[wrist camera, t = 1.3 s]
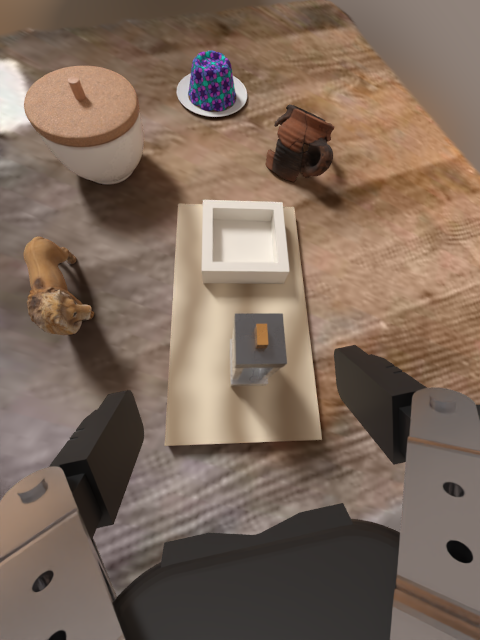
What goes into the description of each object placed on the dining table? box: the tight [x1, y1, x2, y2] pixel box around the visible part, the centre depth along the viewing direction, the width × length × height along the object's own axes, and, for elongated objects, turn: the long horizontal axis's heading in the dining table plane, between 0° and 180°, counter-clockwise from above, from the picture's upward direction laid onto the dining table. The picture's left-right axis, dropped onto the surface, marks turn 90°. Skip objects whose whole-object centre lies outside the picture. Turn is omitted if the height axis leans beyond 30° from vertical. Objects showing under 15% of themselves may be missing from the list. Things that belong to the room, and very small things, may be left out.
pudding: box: [177, 51, 247, 117], centre depth 46 cm, size 12×12×5 cm
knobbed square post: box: [230, 313, 287, 387], centre depth 26 cm, size 4×5×11 cm
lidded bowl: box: [24, 66, 144, 185], centre depth 36 cm, size 13×13×11 cm
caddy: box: [202, 200, 290, 284], centre depth 35 cm, size 10×10×3 cm
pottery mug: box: [266, 105, 334, 182], centre depth 42 cm, size 12×10×8 cm
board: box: [165, 204, 322, 446], centre depth 34 cm, size 16×30×2 cm, turn 2°
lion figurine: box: [24, 237, 94, 335], centre depth 29 cm, size 15×5×9 cm, turn 33°
